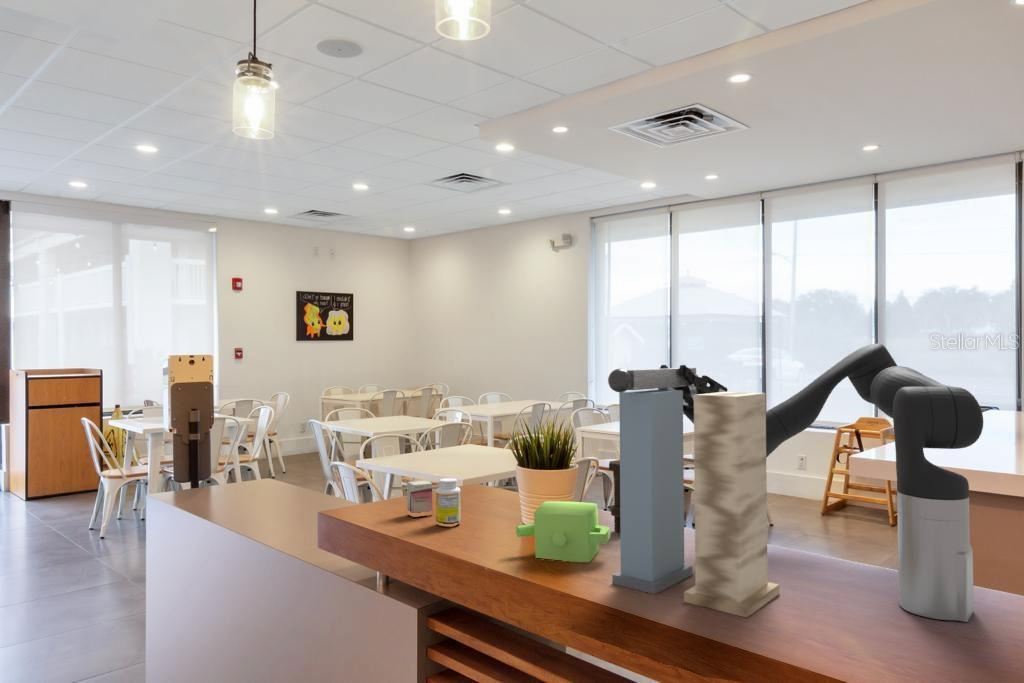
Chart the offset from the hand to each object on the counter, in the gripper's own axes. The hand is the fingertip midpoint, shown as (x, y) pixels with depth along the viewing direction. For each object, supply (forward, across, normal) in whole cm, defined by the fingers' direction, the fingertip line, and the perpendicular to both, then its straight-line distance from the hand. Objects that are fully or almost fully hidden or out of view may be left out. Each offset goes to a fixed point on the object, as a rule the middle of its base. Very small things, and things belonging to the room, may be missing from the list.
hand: (671, 369), depth 124 cm
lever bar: (+4, 0, -6) cm, 7 cm away
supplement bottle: (-15, +54, -32) cm, 65 cm away
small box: (-16, +66, -31) cm, 75 cm away
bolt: (-32, +21, -23) cm, 45 cm away
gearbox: (-12, +20, -34) cm, 42 cm away
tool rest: (-12, -14, -34) cm, 39 cm away
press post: (-12, 0, -34) cm, 36 cm away
